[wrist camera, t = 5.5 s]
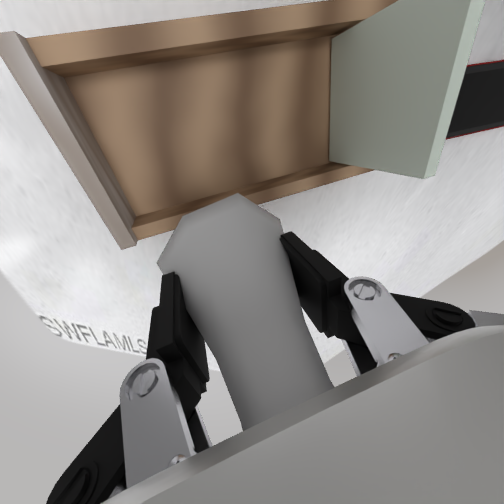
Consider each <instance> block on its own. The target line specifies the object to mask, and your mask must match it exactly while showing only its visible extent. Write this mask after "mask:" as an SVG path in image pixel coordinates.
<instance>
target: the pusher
mask: <svg viewBox="0 0 504 504" xmlns="http://www.w3.org/2000/svg"><path fill="white" fill-rule="evenodd" d="M485 1H486V0H398V1H396V2H395V3H393V4H391V5H390V6H388V7H386V8H384V9H383V10H381V11H379V12H378V13H376V14H374V15H372V16H371V17H369V18H367V19H365V20H364V21H362V22H360V23H359V24H357V25H355V26H353V27H352V28H350V29H348V30H346V31H345V32H343V33H341V34H340V35H338V36H336V37H334V38H333V39H332V47H331V95H330V144H329V161H332V162H337V163H342V164H348V165H353V166H358V167H363V168H369V169H374V170H379V171H384V172H389V173H395V174H400V175H405V176H410V177H416V178H421V179H425V178H429V177H432V176H435V174H436V170H437V167H438V163H439V160H440V156H441V153H442V149H443V146H444V143H445V139H446V136H447V132H448V129H449V125H450V122H451V118H452V115H453V111H454V108H455V105H456V101H457V98H458V94H459V91H460V87H461V84H462V80H463V77H464V74H465V70H466V67H467V63H468V60H469V56H470V53H471V49H472V46H473V42H474V39H475V36H476V32H477V29H478V25H479V22H480V18H481V15H482V11H483V8H484V5H485Z"/></svg>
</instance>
